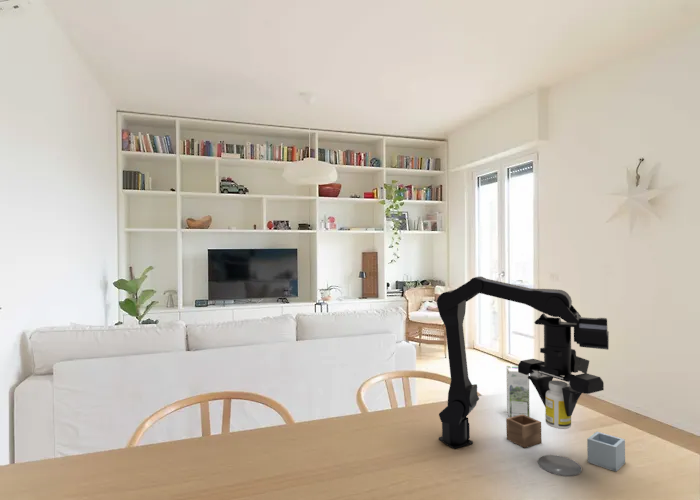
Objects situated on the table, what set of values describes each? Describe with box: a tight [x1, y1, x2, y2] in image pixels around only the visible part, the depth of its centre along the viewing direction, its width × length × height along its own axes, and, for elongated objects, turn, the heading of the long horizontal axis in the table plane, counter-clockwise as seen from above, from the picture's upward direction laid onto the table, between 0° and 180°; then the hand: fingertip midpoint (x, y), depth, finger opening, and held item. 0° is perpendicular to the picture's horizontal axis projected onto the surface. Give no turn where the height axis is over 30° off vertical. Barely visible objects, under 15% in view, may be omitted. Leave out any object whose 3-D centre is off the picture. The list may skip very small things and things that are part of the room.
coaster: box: [537, 454, 582, 477], centre depth 100 cm, size 9×9×1 cm
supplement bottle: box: [544, 379, 572, 430], centre depth 100 cm, size 5×5×10 cm
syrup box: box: [506, 365, 531, 418], centre depth 130 cm, size 6×6×14 cm
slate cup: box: [586, 431, 626, 473], centre depth 101 cm, size 6×6×6 cm
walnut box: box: [505, 414, 543, 449], centre depth 113 cm, size 6×6×6 cm
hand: (558, 411), depth 100 cm, fingers closed on supplement bottle, 5 cm apart
